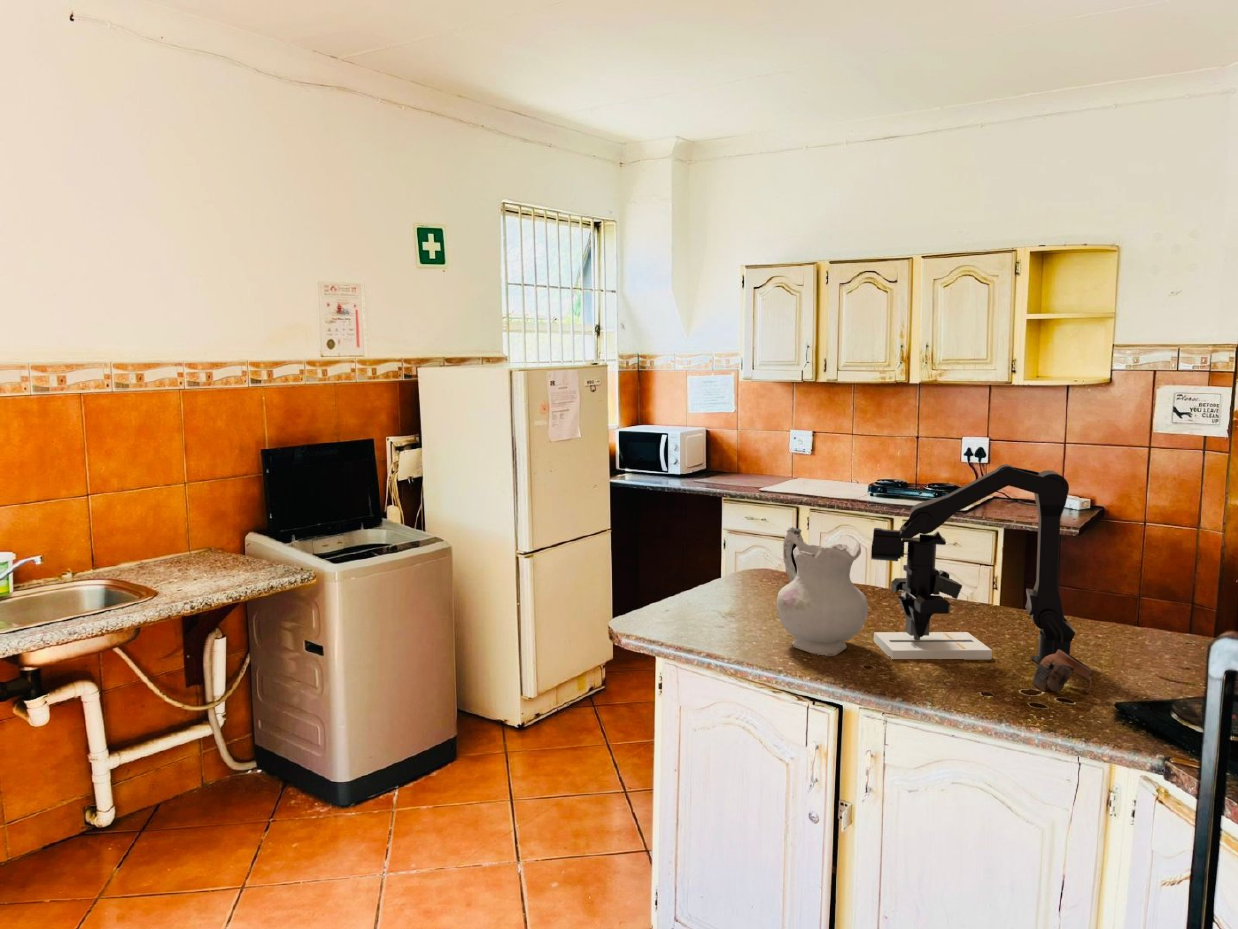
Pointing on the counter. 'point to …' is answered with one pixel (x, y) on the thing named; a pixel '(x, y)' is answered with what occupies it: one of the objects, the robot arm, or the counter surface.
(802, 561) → the ceramic pitcher
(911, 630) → the fader knob
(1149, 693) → the counter surface
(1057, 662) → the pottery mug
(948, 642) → the fader panel
